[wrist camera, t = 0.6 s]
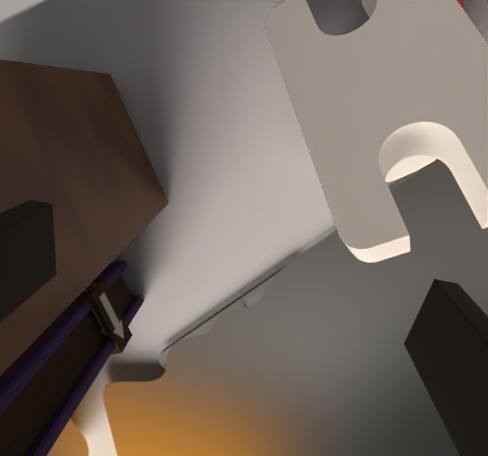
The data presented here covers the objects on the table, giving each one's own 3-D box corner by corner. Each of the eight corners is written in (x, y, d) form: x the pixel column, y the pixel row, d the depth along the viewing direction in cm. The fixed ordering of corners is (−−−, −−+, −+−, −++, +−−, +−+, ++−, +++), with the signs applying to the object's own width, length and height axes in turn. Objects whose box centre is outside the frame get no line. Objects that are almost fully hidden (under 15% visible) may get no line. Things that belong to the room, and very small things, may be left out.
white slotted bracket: (261, 15, 23) (304, 104, 33) (346, 255, 17) (370, 282, 26) (404, -75, 20) (407, 53, 29) (582, 178, 13) (513, 240, 23)
